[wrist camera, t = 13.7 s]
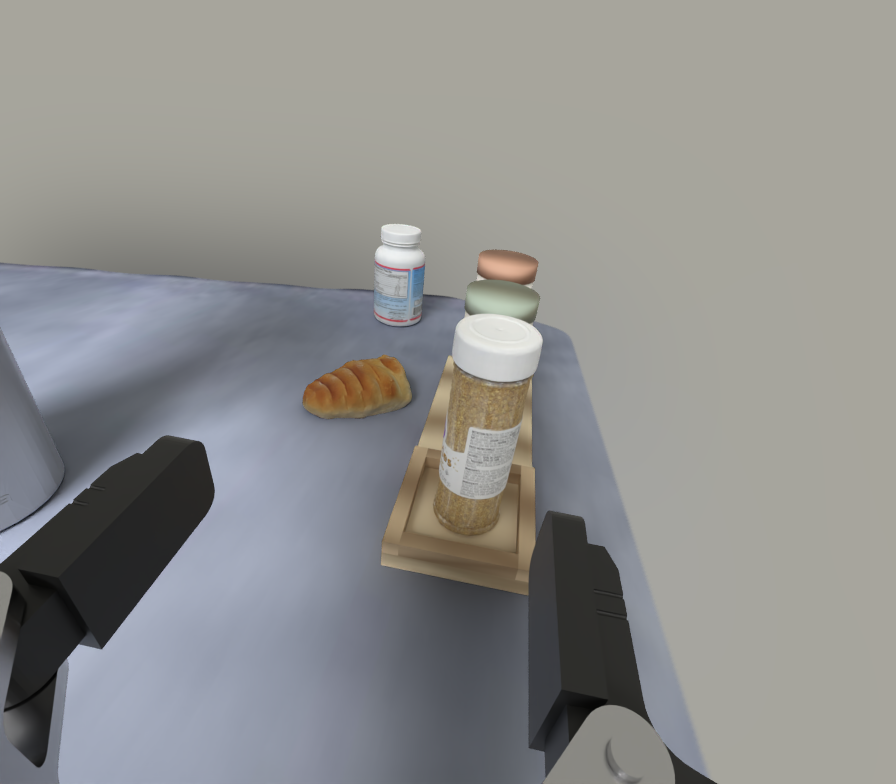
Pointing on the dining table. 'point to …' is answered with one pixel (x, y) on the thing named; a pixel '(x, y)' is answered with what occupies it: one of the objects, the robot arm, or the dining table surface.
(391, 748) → the dining table surface
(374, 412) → the pastry
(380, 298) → the pill bottle
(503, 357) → the spice jar
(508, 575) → the wooden stand
